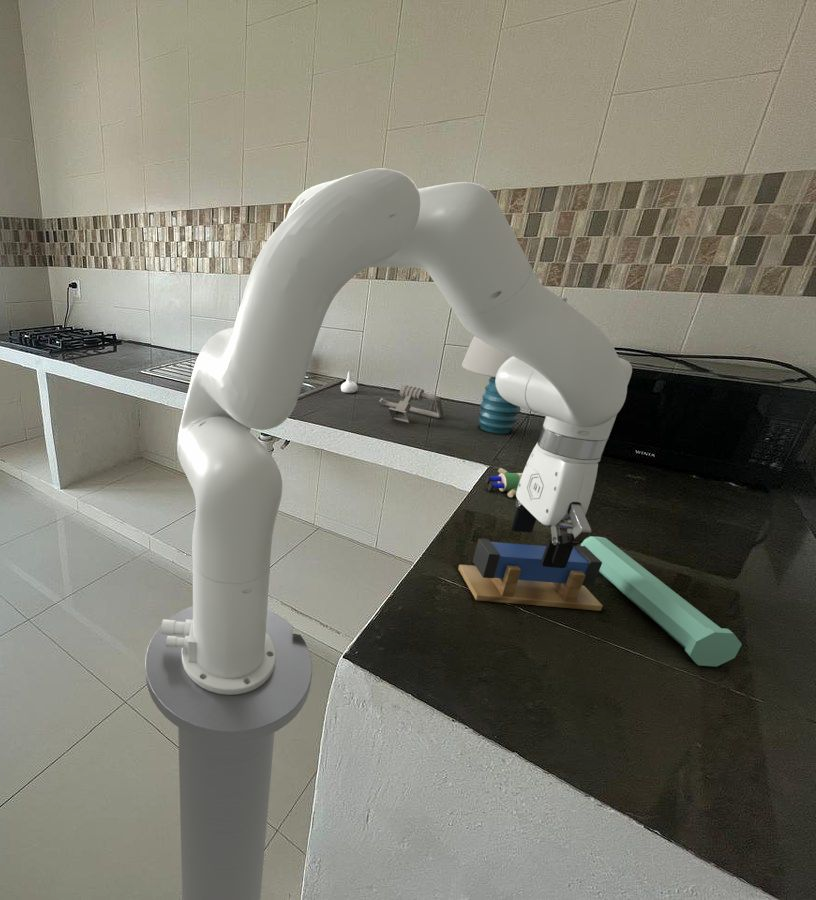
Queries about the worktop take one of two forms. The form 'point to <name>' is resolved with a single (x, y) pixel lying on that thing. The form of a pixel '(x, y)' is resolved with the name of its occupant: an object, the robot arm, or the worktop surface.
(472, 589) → the holder
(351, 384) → the garlic bulb
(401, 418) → the toilet paper hanger
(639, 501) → the worktop surface
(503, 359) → the lamp
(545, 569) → the handle
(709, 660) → the mint octagonal rod
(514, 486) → the toy figurine
